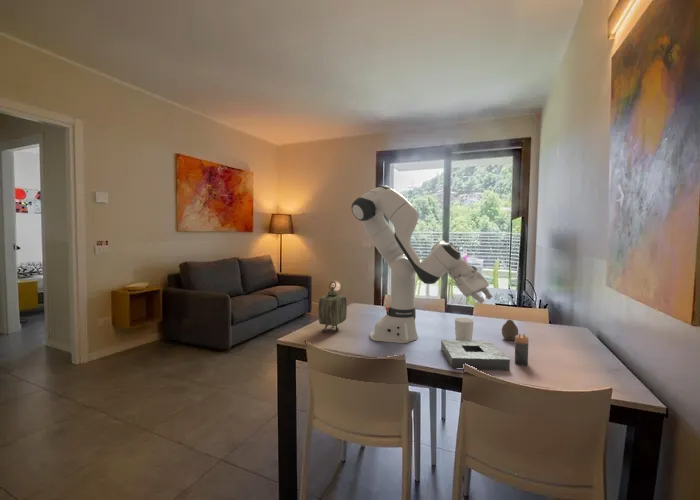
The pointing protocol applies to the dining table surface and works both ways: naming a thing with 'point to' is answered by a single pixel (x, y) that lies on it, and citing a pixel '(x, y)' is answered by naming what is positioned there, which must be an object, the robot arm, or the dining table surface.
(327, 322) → the tabletop clock
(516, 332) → the brown textured egg shape
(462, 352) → the socket block
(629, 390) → the dining table surface
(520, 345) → the plug
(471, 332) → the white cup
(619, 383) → the dining table surface
